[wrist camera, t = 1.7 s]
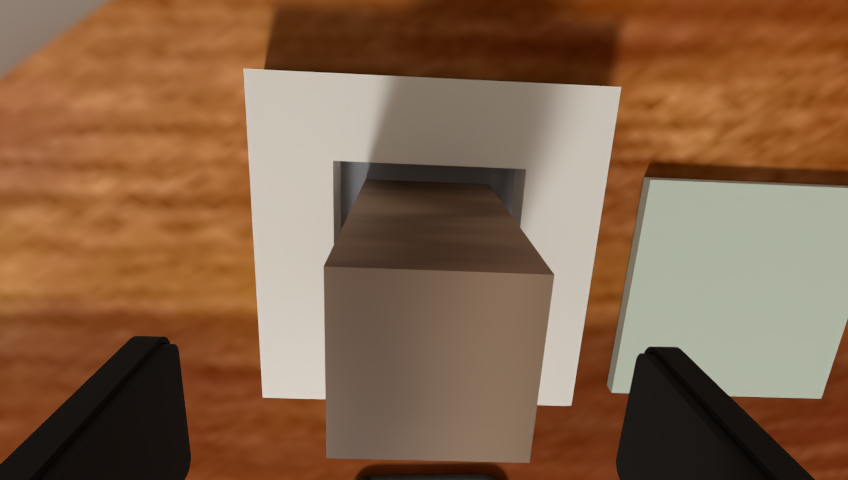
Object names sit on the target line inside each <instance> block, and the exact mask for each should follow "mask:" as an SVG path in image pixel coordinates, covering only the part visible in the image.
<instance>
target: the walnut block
mask: <svg viewBox="0 0 848 480" xmlns="http://www.w3.org/2000/svg"><path fill="white" fill-rule="evenodd" d="M553 282H554V273H553V272H552V271H551V269H550V268H549V267H548V265H547V264H546V262H545V261H544V260H543V258H542V257H541V256H540V254H539V253H538V251H537V250H536V249H535V247H534V246H533V244H532V243H531V242H530V240H529V239H528V238H527V236H526V235H525V233H524V232H523V231H522V229H521V228H520V226H519V225H518V224H517V222H516V221H515V220H514V218H513V217H512V215H511V214H510V213H509V211H508V210H507V209H506V207H505V206H504V204H503V203H502V202H501V200H500V199H499V197H498V196H497V195H496V193H495V192H494V191H493V189H492V188H491V186H490V185H489V184H471V183H448V182H424V181H400V180H376V179H365V182H364V184H363V186H362V188H361V190H360V192H359V194H358V196H357V198H356V200H355V202H354V204H353V206H352V209H351V211H350V213H349V215H348V217H347V219H346V221H345V223H344V225H343V227H342V229H341V231H340V234H339V236H338V238H337V240H336V242H335V244H334V246H333V248H332V250H331V252H330V254H329V256H328V258H327V261H326V263H325V265H324V324H325V391H326V458H345V459H388V460H431V461H473V462H516V463H529V462H530V454H531V447H532V439H533V432H534V424H535V417H536V409H537V402H538V394H539V387H540V379H541V372H542V364H543V357H544V349H545V342H546V334H547V327H548V319H549V312H550V304H551V297H552V289H553Z"/></svg>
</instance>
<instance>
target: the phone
mask: <svg viewBox="0 0 848 480" xmlns="http://www.w3.org/2000/svg"><path fill="white" fill-rule="evenodd" d="M359 480H497V479H496V478H495V477H493V476H490V475H486V474H437V475H372V476H366V477H364V478H361V479H359Z"/></svg>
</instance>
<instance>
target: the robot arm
mask: <svg viewBox="0 0 848 480" xmlns="http://www.w3.org/2000/svg"><path fill="white" fill-rule="evenodd" d="M190 461H191V453H190V445H189V436H188V427H187V419H186V410H185V401H184V393H183V384H182V376H181V367H180V358H179V351H178V347H177V346H176V345H175V344H170V342H169V340H168V339H167V338H166V337H150V336H134V337H132V338H131V339H130V340H129V341H128V342H127V343H126V344H125V345H124V346H123V347H122V348H120V349H119V350H118V351H117V352H116V353H115V354H114V355H113V356H112V357H111V358H110V359H109V360H108V361H107V362H106V363H105V364H104V365H103V366H102V367H101V368H100V369H99V370H98V371H97V372H96V373H95V374H94V375H93V376H91V377H90V378H89V379H88V380H87V381H86V382H85V383H84V384H83V385H82V386H81V387H80V388H79V389H78V390H77V391H76V392H75V393H74V394H73V395H72V396H71V397H70V398H69V399H68V400H67V401H66V402H65V403H64V404H62V405H61V406H60V407H59V408H58V409H57V410H56V411H55V412H54V413H53V414H52V415H51V416H50V417H49V418H48V419H47V420H46V421H45V422H44V423H43V424H42V425H41V426H40V427H39V428H38V429H37V430H36V431H35V432H33V433H32V434H31V435H30V436H29V437H28V438H27V439H26V440H25V441H24V442H23V443H22V444H21V445H20V446H19V447H18V448H17V449H16V450H15V451H14V452H13V453H12V454H11V455H10V456H9V457H8V458H7V459H6V460H5V461H3V462H2V463H1V464H0V480H185V478H186V476H187V474H188V471H189V467H190ZM616 467H617V472H618V476H619V478H620V480H815V479H814V478H813V477H812V476H811V475H810V474H809V473H808V472H807V471H805V470H804V469H803V468H802V467H801V466H800V465H799V464H798V463H797V462H796V461H795V460H794V459H793V458H792V457H791V456H790V455H789V454H788V453H787V452H786V451H785V450H784V449H783V448H782V447H781V446H780V445H779V444H778V443H777V442H776V441H775V440H774V439H773V438H772V437H771V436H770V435H769V434H768V433H766V432H765V431H764V430H763V429H762V428H761V427H760V426H759V425H758V424H757V423H756V422H755V421H754V420H753V419H752V418H751V417H750V416H749V415H748V414H747V413H746V412H745V411H744V410H743V409H742V408H741V407H740V406H739V405H738V404H737V403H736V402H735V401H734V400H733V399H732V398H731V397H730V396H728V395H727V394H726V393H725V392H724V391H723V390H722V389H721V388H720V387H719V386H718V385H717V384H716V383H715V382H714V381H713V380H712V379H711V378H710V377H709V376H708V375H707V374H706V373H705V372H704V371H703V370H702V369H701V368H700V367H699V366H698V365H697V364H696V363H695V362H694V361H693V360H692V359H691V358H689V357H688V356H687V355H686V354H685V353H684V352H683V351H682V350H681V349H680V348H678V347H648V348H647V349H646V350H645V352H644V353H640V354H639V355H638V356H637V359H636V362H635V367H634V373H633V378H632V383H631V388H630V393H629V398H628V403H627V408H626V413H625V418H624V423H623V428H622V433H621V438H620V443H619V448H618V453H617V459H616Z"/></svg>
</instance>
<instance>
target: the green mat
mask: <svg viewBox="0 0 848 480" xmlns="http://www.w3.org/2000/svg"><path fill="white" fill-rule="evenodd" d="M847 319H848V186H844V185H821V184H797V183H774V182H751V181H727V180H704V179H680V178H657V177H644V180H643V186H642V192H641V197H640V203H639V208H638V214H637V219H636V225H635V231H634V236H633V242H632V247H631V253H630V258H629V264H628V270H627V275H626V281H625V286H624V292H623V297H622V303H621V309H620V314H619V320H618V325H617V331H616V336H615V342H614V348H613V353H612V359H611V364H610V370H609V375H608V381H607V386H608V388H609V390H610V391H611V393H630V388H631V383H632V378H633V373H634V367H635V362H636V359H637V356H638V355H639V354H640V353H644V352H645V350H646V349H647V348H648V347H678V348H680V349H681V350H682V351H683V352H684V353H685V354H686V355H687V356H688V357H689V358H691V359H692V360H693V361H694V362H695V363H696V364H697V365H698V366H699V367H700V368H701V369H702V370H703V371H704V372H705V373H706V374H707V375H708V376H709V377H710V378H711V379H712V380H713V381H714V382H715V383H716V384H717V385H718V386H719V387H720V388H721V389H722V390H723V391H724V392H725V393H726V394H727V395H728V396H746V397H781V398H817V399H821V397H822V394H823V391H824V388H825V385H826V382H827V379H828V376H829V373H830V370H831V367H832V364H833V361H834V358H835V355H836V352H837V349H838V346H839V343H840V340H841V337H842V334H843V331H844V328H845V325H846V322H847Z"/></svg>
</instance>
